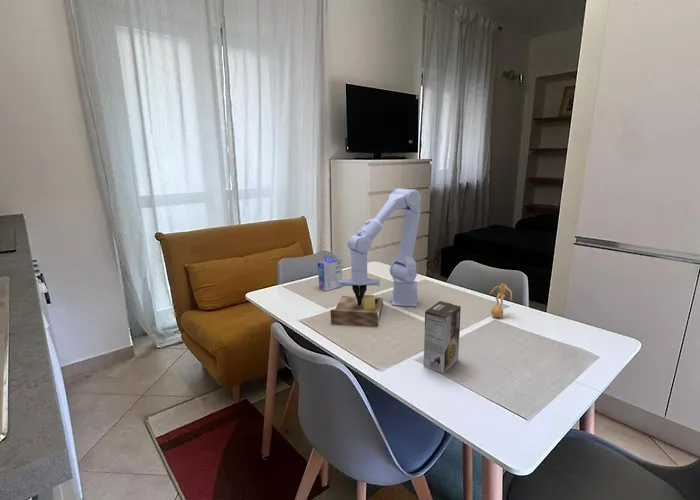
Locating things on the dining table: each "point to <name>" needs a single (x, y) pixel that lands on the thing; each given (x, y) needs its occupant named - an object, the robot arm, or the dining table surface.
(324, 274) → the ink cartridge box
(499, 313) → the figurine
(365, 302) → the cube
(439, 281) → the dining table surface
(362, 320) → the board
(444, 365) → the coffee box
